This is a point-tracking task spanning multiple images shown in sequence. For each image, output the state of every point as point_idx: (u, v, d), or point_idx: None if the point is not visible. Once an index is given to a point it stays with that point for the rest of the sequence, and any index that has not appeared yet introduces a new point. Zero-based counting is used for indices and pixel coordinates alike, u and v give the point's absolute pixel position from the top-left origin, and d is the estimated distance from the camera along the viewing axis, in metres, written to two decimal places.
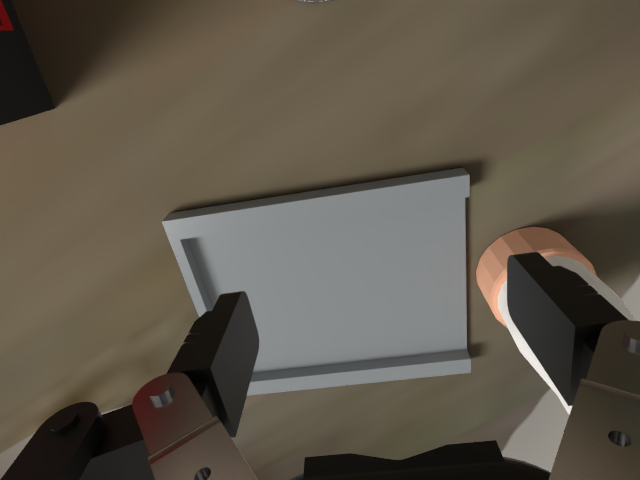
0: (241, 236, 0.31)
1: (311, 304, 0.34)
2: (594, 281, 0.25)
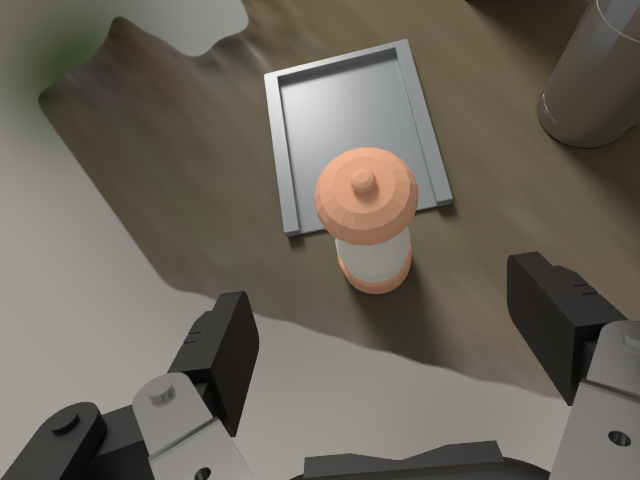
0: (394, 82, 0.49)
1: (342, 124, 0.48)
2: (409, 247, 0.36)
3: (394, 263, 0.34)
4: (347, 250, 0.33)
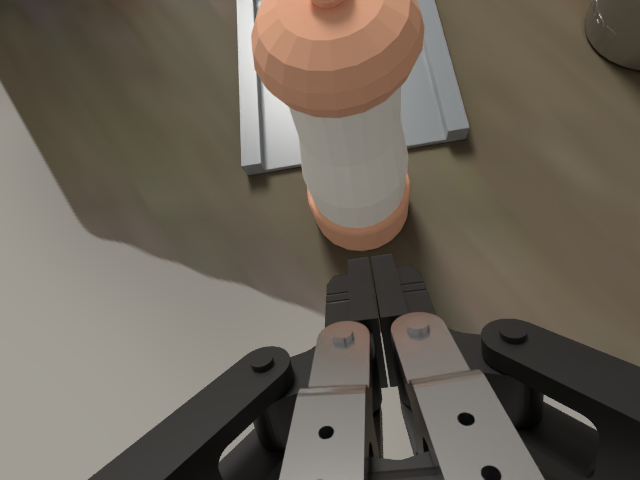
0: None
1: None
2: (406, 172, 0.25)
3: (383, 188, 0.23)
4: (312, 158, 0.22)
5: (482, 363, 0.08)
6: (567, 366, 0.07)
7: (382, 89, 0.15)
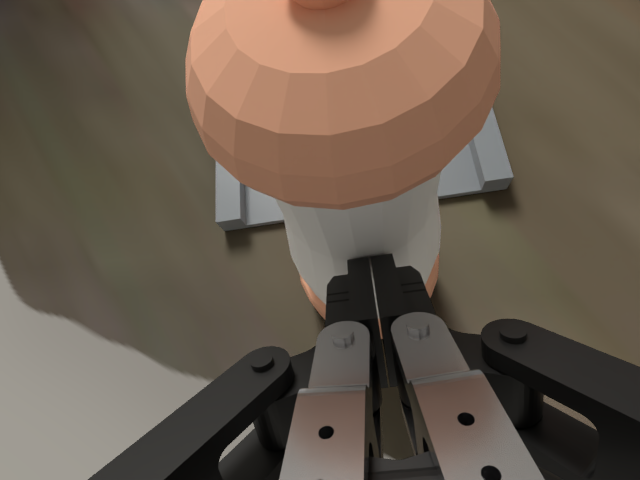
0: None
1: None
2: (438, 252, 0.17)
3: None
4: (301, 243, 0.14)
5: (482, 363, 0.08)
6: (567, 366, 0.07)
7: (428, 167, 0.08)
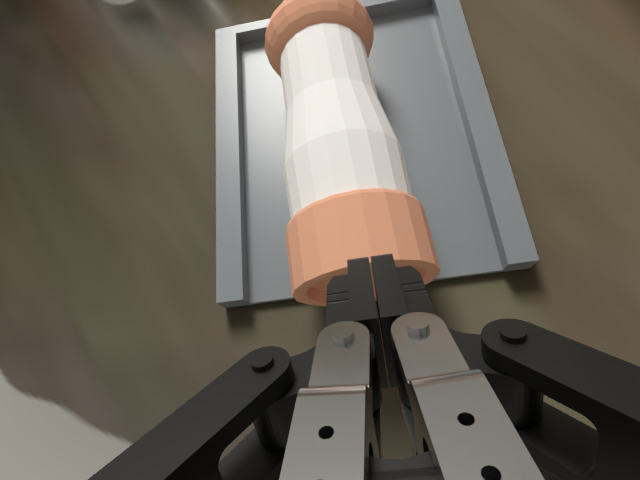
0: (428, 51, 0.29)
1: None
2: (397, 145, 0.21)
3: (357, 114, 0.20)
4: (290, 107, 0.23)
5: (482, 363, 0.08)
6: (567, 366, 0.07)
7: None
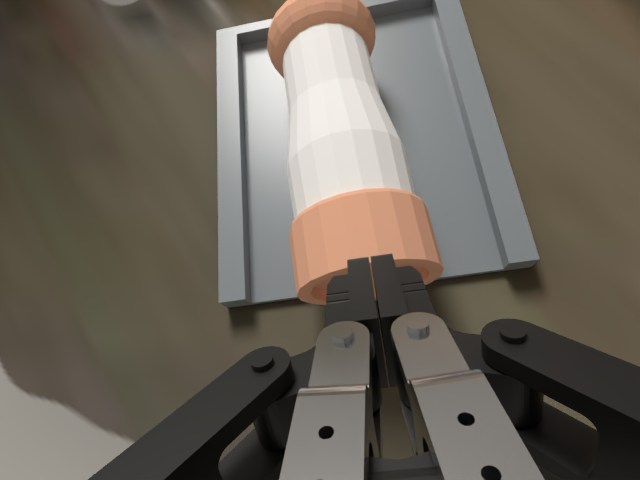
0: (429, 51, 0.29)
1: None
2: (401, 145, 0.21)
3: (362, 114, 0.21)
4: (293, 106, 0.23)
5: (482, 363, 0.08)
6: (567, 366, 0.07)
7: None
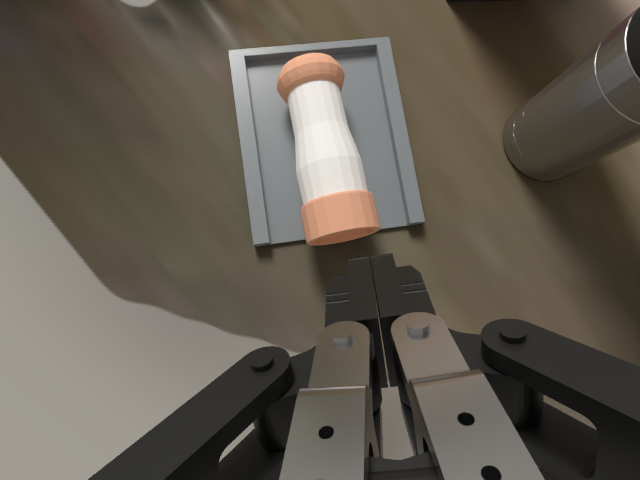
0: (372, 84, 0.46)
1: None
2: (361, 161, 0.39)
3: (343, 145, 0.38)
4: (300, 132, 0.39)
5: (482, 363, 0.08)
6: (567, 366, 0.07)
7: (325, 60, 0.39)
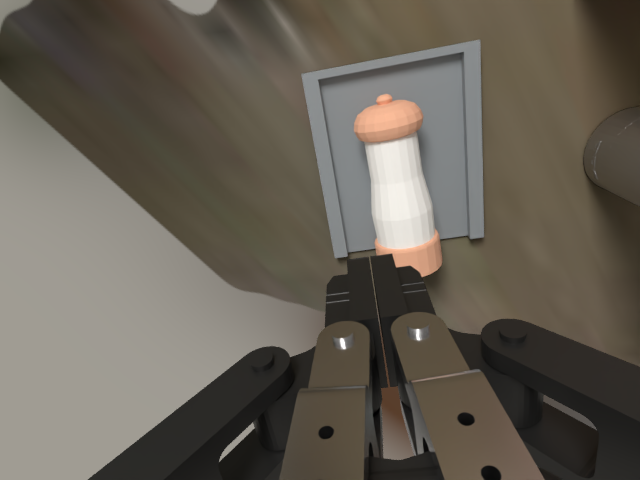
0: (453, 96, 0.44)
1: None
2: (431, 210, 0.44)
3: (415, 206, 0.42)
4: (376, 186, 0.43)
5: (482, 363, 0.08)
6: (567, 366, 0.07)
7: (404, 122, 0.38)
